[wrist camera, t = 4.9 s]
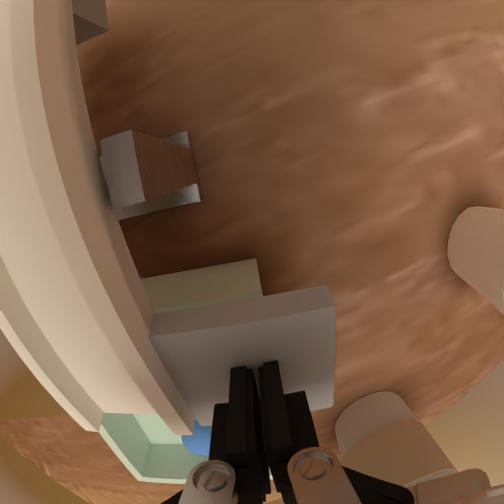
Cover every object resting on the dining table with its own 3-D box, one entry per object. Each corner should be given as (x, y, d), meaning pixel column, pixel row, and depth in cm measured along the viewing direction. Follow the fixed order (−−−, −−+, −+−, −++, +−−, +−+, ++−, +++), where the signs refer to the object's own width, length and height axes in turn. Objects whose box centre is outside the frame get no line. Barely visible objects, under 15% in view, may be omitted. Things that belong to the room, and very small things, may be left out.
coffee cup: (316, 453, 24) (344, 582, 9) (328, 390, 21) (383, 561, 7) (398, 436, 24) (448, 545, 9) (424, 372, 21) (509, 496, 7)
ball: (179, 413, 20) (172, 440, 17) (216, 410, 20) (213, 438, 17) (190, 436, 21) (186, 462, 18) (225, 434, 21) (224, 461, 18)
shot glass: (445, 298, 19) (500, 342, 12) (433, 215, 17) (503, 239, 11) (500, 264, 19) (555, 293, 12) (492, 187, 17) (558, 201, 10)
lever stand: (70, 169, 16) (-40, 183, 7) (189, 132, 16) (126, 95, 7) (83, 228, 17) (-18, 279, 8) (202, 199, 17) (153, 237, 8)
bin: (74, 290, 18) (36, 322, 13) (255, 258, 18) (259, 291, 13) (149, 440, 23) (138, 480, 18) (288, 431, 22) (295, 475, 17)
